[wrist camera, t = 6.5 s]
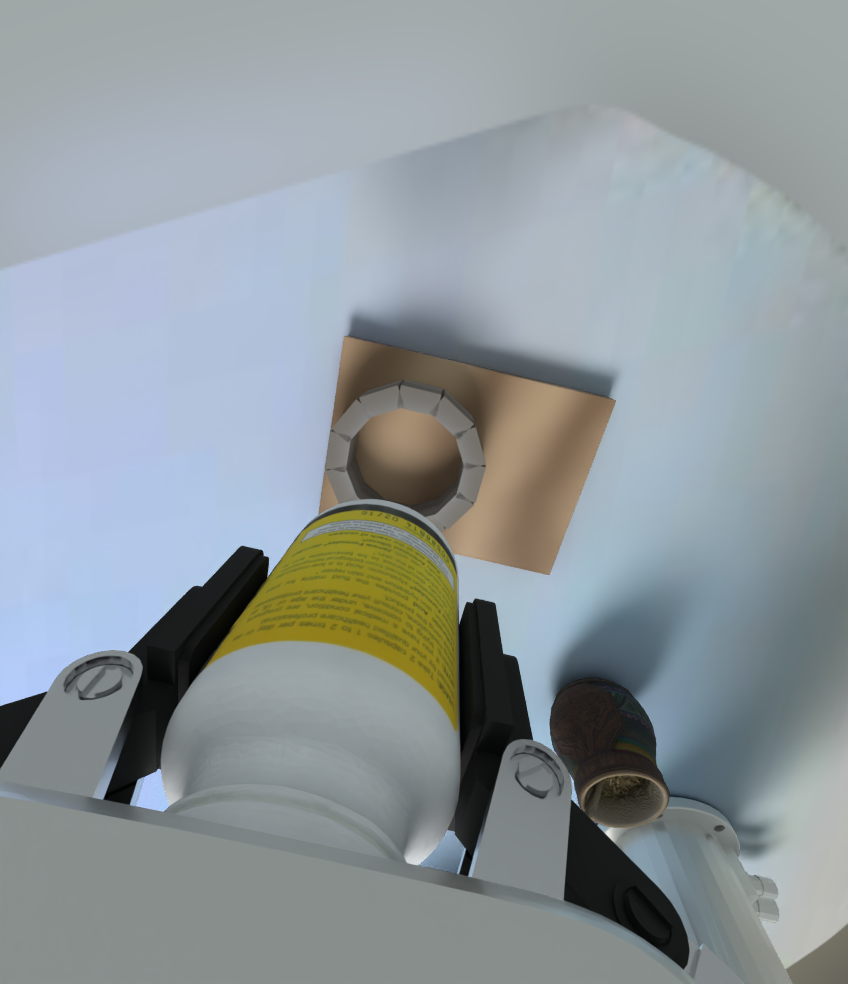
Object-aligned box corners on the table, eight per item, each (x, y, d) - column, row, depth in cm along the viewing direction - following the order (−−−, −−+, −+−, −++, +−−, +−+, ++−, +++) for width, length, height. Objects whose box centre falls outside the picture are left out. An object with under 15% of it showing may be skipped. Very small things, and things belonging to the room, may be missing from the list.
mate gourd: (652, 710, 35) (724, 853, 25) (567, 745, 37) (604, 889, 27) (610, 649, 33) (670, 780, 23) (522, 690, 35) (546, 825, 26)
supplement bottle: (282, 493, 13) (-73, 855, 4) (459, 494, 13) (479, 888, 4) (303, 636, 15) (88, 1093, 6) (457, 639, 15) (467, 1126, 6)
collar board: (609, 397, 26) (633, 408, 23) (545, 565, 31) (557, 596, 27) (348, 335, 26) (332, 337, 22) (322, 515, 30) (305, 539, 27)
